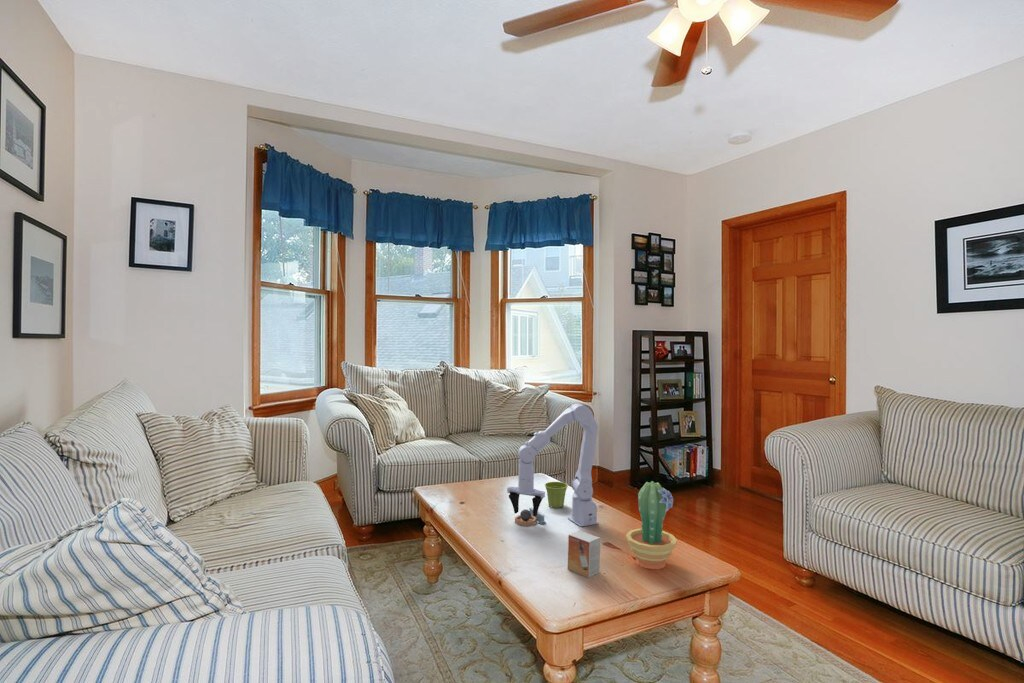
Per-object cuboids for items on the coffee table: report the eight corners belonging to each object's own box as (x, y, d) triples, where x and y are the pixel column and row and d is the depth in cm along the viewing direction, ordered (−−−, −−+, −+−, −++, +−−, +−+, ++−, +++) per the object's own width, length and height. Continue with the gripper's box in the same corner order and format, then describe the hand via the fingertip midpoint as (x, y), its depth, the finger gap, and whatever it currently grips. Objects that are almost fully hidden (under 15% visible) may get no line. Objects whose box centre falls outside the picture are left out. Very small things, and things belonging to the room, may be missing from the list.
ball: (533, 520, 199) (533, 509, 199) (526, 523, 196) (526, 512, 196) (524, 517, 201) (525, 507, 201) (517, 520, 198) (518, 509, 198)
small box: (567, 569, 159) (567, 534, 159) (578, 563, 163) (579, 529, 163) (588, 578, 153) (589, 542, 153) (600, 572, 157) (600, 537, 157)
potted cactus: (641, 576, 154) (642, 491, 154) (616, 555, 169) (617, 477, 169) (687, 570, 159) (688, 487, 158) (659, 550, 174) (660, 474, 173)
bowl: (539, 523, 197) (539, 520, 197) (521, 526, 193) (521, 523, 193) (529, 517, 204) (529, 513, 204) (512, 520, 200) (512, 516, 200)
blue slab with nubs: (546, 523, 197) (546, 515, 197) (540, 524, 196) (540, 516, 196) (533, 515, 206) (533, 507, 206) (527, 515, 205) (527, 508, 205)
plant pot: (568, 509, 213) (568, 488, 213) (545, 509, 213) (545, 487, 213) (566, 502, 222) (566, 481, 222) (544, 502, 222) (544, 481, 222)
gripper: (548, 477, 199) (547, 513, 199) (512, 473, 205) (512, 508, 205) (541, 482, 192) (540, 519, 193) (505, 477, 199) (504, 513, 199)
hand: (525, 514), depth 198 cm, fingers open, 7 cm apart
